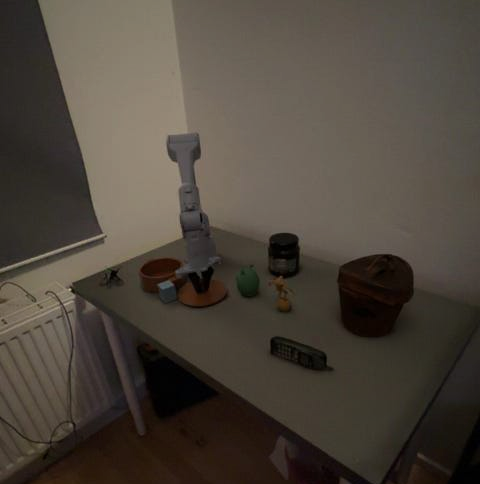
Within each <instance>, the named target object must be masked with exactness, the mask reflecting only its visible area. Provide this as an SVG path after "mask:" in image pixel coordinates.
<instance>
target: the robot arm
mask: <svg viewBox="0 0 480 484" xmlns="http://www.w3.org/2000/svg"><path fill="white" fill-rule="evenodd" d="M200 140H201V139H200V134H199V133H198V132H196V131H195V132H192V133H191V132H189V133H180V134H179V133H178V134H166V136H165V146H166V150H167V151H166V152H167V155H168V157H169V159H170V160H171V162H173V163H176V164H177V166H178V171H179V177H180V181H181V185H180V187H178V201H179V202H178V203H179V209H180V212H179V214H178V218H179V219H178V220H179V225H180V229H181V235H182V239H184V244H185V251H186V257H187V258H186V259H185V260H186V262H187V263H186V264H185V265H183V267H182V268H180V269H178V270H176V271H175V274H176V277H177V278H178V279H180V278H182V276H185V277H187V278H188V279H189V281H190V282H192V284H193V286H194V288H195V291H196V292H197V293H198V294H199V293H201V290H200V278H203V279H204V280H205V286H206V290H209V284H210V280H211V279H212V277H213V275H214V273H215V268H213V267H212V266H215V265H221V264H222V259H221V257H220V256H218V253H217V247H216V241H215V238H214V237H213V236H212V234H211V227H210V220H209V216H208V214H207V213H205V212H203V208H202V204H201V198H200V197H201V196H200V189H199V187H198V186H197V181H196V180H197V179H196V174H195V164H196V161H198V160H200V159H201V157H202V147H201V141H200ZM198 272H200V275H201V276H200V275H199V274H198Z"/></svg>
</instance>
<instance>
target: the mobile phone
mask: <svg viewBox="0 0 480 484" xmlns="http://www.w3.org/2000/svg"><path fill="white" fill-rule="evenodd" d="M269 346H270V347H269V349H270V354H271V355H273V356H276V357H279V358H282V359H285V360H287V361H289V362H293V363H295V364H297V365H300V366H302V367H304V368H306V369H307V368H308V369H312V370H319V371H321V370H323V369H327V370H330V371H333V370H334V367H333V366H330V365H327V363H328V357H327V354H326V353H325V351H323V350H321V349H318V348H316V347H313V346H311V345H309V344H305V343H303V342H302V343H301V342H299V341H297V340H294V339H291V338H288V337H284V336H279V335H277V336H273V337H271V338H270V339H269Z"/></svg>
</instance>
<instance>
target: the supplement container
mask: <svg viewBox="0 0 480 484" xmlns="http://www.w3.org/2000/svg"><path fill="white" fill-rule="evenodd" d="M268 244H269V245H268V246H267V259H268V260H267V262H268V265H267V268H268V269H267V270H268V272H269V273H270V274H271V275H273V276H275V277H278V278H279V277H280V276H282V277H283V278H289V277H292V276H295V275H296V274H297V273H298V272H299V271H300V252H301V247H300V245H299V244H300V238H299V236H298V235H297V234H295V233H292V232H278V233H274V234H272V235H270V236H269V238H268Z"/></svg>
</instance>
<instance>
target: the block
mask: <svg viewBox="0 0 480 484" xmlns="http://www.w3.org/2000/svg"><path fill="white" fill-rule="evenodd" d="M157 285H158V290H159V293H158V294H159V298H160V300H162V301H163V302H164V303H165V304H168V303H171V302H173V301H175V300H177V299H178V294H177V291H176V290H177V289H175V285H174V284H173V283H172V282H171V281H170V280H168V281H165V282H163V283H160V284H157Z"/></svg>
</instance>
